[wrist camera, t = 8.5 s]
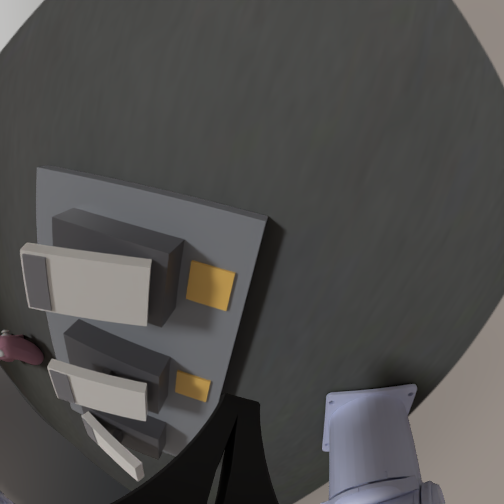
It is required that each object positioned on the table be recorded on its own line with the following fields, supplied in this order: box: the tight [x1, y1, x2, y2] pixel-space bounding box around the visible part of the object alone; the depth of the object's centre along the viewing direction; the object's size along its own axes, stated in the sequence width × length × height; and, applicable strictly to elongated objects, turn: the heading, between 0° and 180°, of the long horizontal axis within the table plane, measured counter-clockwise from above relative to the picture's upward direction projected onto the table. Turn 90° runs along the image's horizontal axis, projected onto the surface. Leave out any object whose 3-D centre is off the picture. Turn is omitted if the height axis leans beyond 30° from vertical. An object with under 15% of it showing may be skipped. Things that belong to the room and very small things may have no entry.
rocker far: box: [81, 411, 144, 481], centre depth 23 cm, size 8×4×1 cm, turn 76°
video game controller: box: [0, 330, 44, 365], centre depth 26 cm, size 10×5×7 cm, turn 106°
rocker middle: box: [47, 359, 148, 421], centre depth 19 cm, size 8×4×1 cm, turn 77°
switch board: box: [36, 165, 268, 460], centre depth 22 cm, size 18×30×5 cm, turn 167°
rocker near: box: [20, 243, 152, 326], centre depth 15 cm, size 8×4×1 cm, turn 77°
